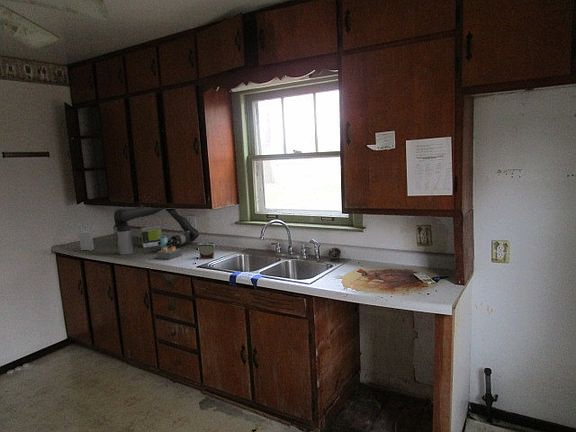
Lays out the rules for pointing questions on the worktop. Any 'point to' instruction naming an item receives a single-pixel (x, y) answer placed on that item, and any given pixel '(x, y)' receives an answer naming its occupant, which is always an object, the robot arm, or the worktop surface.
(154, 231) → the tea box
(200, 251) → the food container
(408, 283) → the worktop surface
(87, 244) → the skincare box
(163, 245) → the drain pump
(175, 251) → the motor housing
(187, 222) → the robot arm
